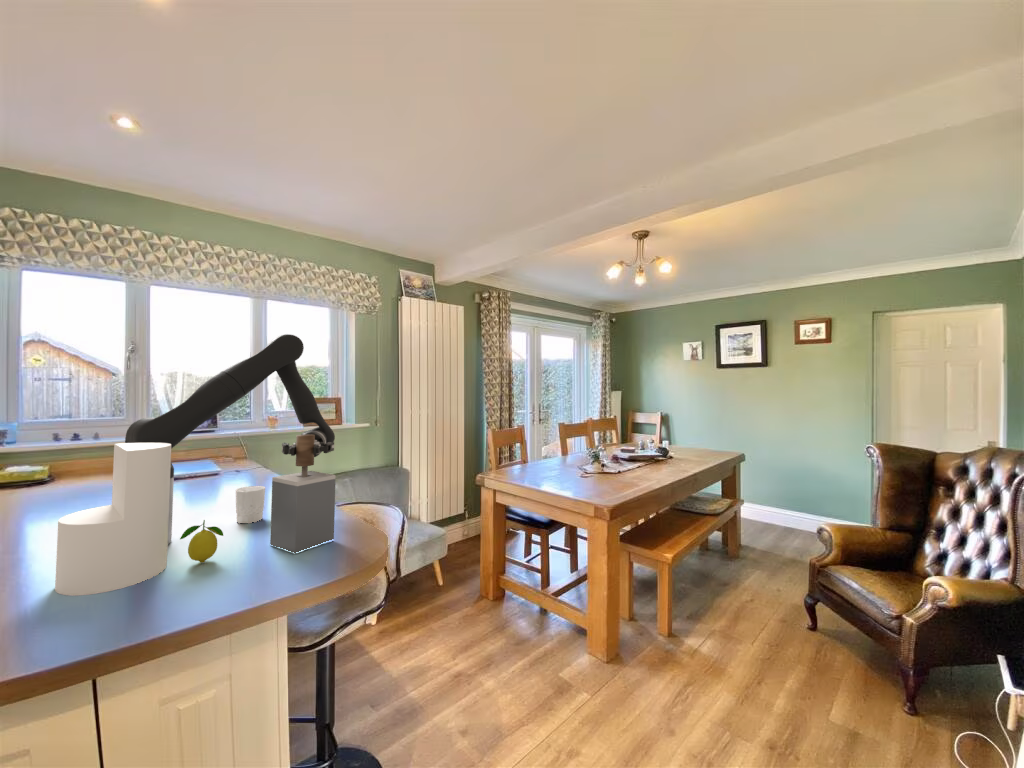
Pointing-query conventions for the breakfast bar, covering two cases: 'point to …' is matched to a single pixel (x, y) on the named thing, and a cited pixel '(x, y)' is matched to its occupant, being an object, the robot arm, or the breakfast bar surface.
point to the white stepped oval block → (119, 527)
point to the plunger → (305, 452)
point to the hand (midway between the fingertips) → (304, 451)
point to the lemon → (202, 542)
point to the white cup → (250, 504)
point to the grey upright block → (302, 510)
